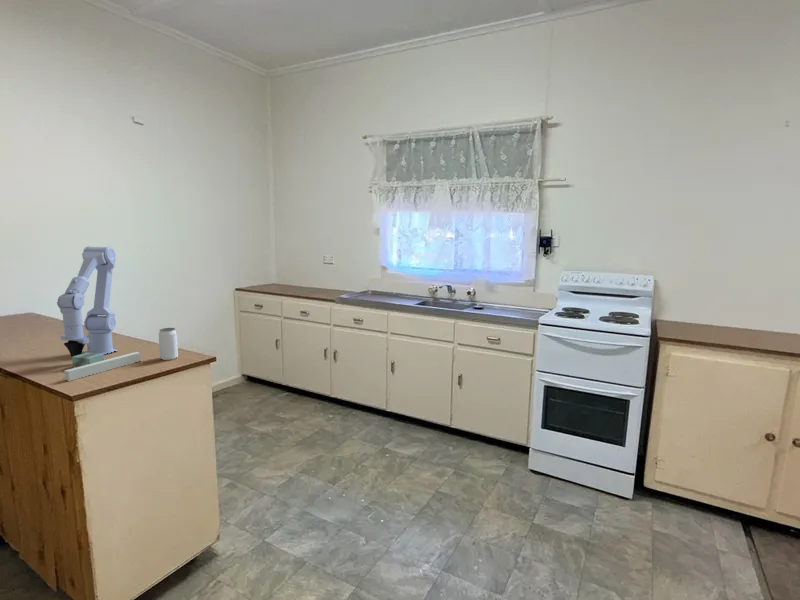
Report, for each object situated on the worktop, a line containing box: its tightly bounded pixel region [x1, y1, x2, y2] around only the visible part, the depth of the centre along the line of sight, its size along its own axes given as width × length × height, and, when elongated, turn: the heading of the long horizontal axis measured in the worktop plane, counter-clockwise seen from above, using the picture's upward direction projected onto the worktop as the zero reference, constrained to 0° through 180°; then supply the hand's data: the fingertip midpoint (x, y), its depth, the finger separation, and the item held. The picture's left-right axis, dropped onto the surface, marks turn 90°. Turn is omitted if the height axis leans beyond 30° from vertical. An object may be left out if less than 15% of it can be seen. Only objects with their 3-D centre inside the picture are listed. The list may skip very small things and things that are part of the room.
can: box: [158, 327, 179, 361], centre depth 179 cm, size 6×6×12 cm
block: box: [71, 352, 105, 368], centre depth 168 cm, size 8×6×4 cm
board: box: [63, 351, 142, 381], centre depth 164 cm, size 2×26×4 cm, turn 155°
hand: (76, 359), depth 171 cm, fingers closed
